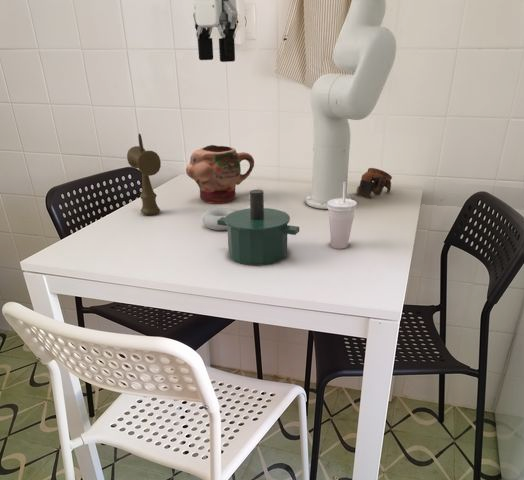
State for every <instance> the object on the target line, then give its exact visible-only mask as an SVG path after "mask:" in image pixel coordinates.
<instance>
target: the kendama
mask: <svg viewBox="0 0 524 480" xmlns="http://www.w3.org/2000/svg"><path fill="white" fill-rule="evenodd" d="M137 138H138V145H135V146H132V147H130V148H129V149H128V150H127V155H126V159H127V163H128V164H129V166H130V167H131V168H134V169H138V171H139V172H140V173H141V179H142V180H141V193H140V194H139V198H140V199H141V202H142V203H141V204H142V206H141V209H140V213H141V214H143V215H146V216H147V215H149V216H151V215H156V214H158V213H160V211H161V208H160V207H159V206H158V204H157V200H156V199H157V196H158V195H157V194H156V192H155V191H154V189H153V186H152V183H151V179H150V177H152V176H154V175H156V174H158V173H159V171H160V170H161V168H162V167H161V166H162V165H161V164H162V163H161V162H162V161H161V157H160V156H159V154H158V153H157V152H155V151H153V150H146V149H145V148H144V143H143V137H142V134H141V133H138V135H137Z"/></svg>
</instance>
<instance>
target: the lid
mask: <svg viewBox="0 0 524 480" xmlns="http://www.w3.org/2000/svg"><path fill="white" fill-rule="evenodd" d="M264 197H265V196H264V190H262V189H251V190H249V207H250V208H244V209H243V208H242V209H239V210H238V211H235V212H232V213H230V214H228V215H227V216H226V217H225V223H226V224H227V225H228V226H229V227H231V228H234V229H238V230H244V231H266V230H273V229H277V228H280V227H283V226H285V225H286V224H287V225H288V224H289V223H290V221H291V216H290V215H289V213H287V212H286V211H283V210H279V209H275V208H267V207H265V203H264V201H265V199H264Z"/></svg>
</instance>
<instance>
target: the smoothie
mask: <svg viewBox="0 0 524 480" xmlns="http://www.w3.org/2000/svg"><path fill="white" fill-rule="evenodd" d="M345 194H346V195H347V193H346V182H344V184H343V198H338V199H332V200H329V201H328V202H327V208H328V209H327V210H328V221H329V223H328V224H329V235H330V247H331V248H334V249H339V250H340V249H346V248H348V246H349V241H350V238H351V237H350V236H351V232H352V226H353V221H354V216H355V212H356V209H357V208H358V206H357V205H358V202H357V201H356V200H354V199H352V198H351V199H352V200H351V199H345Z"/></svg>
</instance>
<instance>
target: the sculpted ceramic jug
mask: <svg viewBox="0 0 524 480" xmlns="http://www.w3.org/2000/svg"><path fill="white" fill-rule="evenodd" d="M189 160H190V161H189V163H188V165H187V166H186V168H185V173H186V175H187V176H188V177H189V178H190V179H192V180H194V182H195V183H196V184H197V186H198V188H199V198H200V200H201V201H203V202H206V203H210V204H226V203H230V202H232V201H234V200H235V197H236V187H237V186H239V185H241V184H242V183H243V182H244V181H245V180H246V179H247V178H248V177H249V176H250V175H251V173H252V171H253V169H254V168H255V160H254V157H253V156H252V155H251V154H250V153H248V152H244V151H243V152H237V150H236V148H234V147H231V146H225V145H214V144H210V145H207V146H203V147H201V148H199V149H196V150H195V151H193V152H192V153H191V156H190V159H189ZM242 161H246V162H248V164H249V167H248V169H247V171H246V172H245V173H241V171H242V170H241V169H242V167H241V162H242Z"/></svg>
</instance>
